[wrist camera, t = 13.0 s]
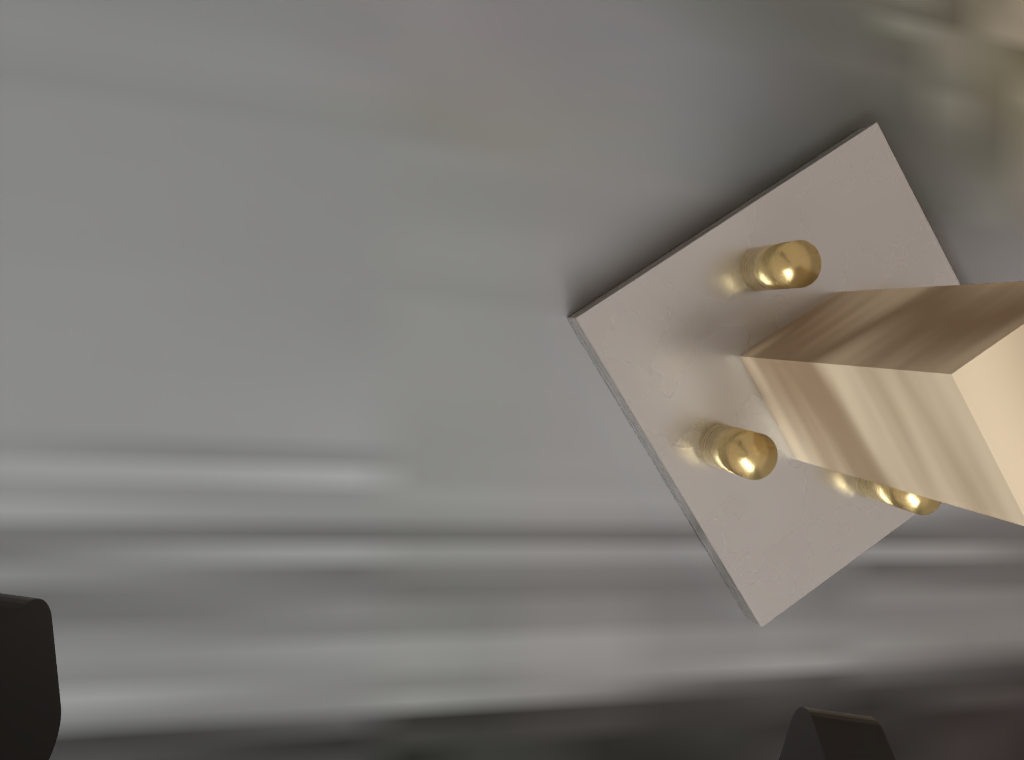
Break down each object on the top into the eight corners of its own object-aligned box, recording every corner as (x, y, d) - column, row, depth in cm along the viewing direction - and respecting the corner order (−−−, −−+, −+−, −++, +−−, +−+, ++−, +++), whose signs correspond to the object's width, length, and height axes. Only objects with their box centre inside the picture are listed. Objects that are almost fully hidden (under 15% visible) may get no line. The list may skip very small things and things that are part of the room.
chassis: (747, 617, 31) (800, 654, 27) (567, 318, 29) (600, 317, 25) (1012, 424, 33) (1093, 436, 29) (859, 128, 31) (926, 104, 27)
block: (796, 459, 30) (1029, 527, 20) (739, 356, 29) (951, 373, 19) (890, 394, 30) (1162, 429, 21) (836, 291, 30) (1090, 277, 20)
